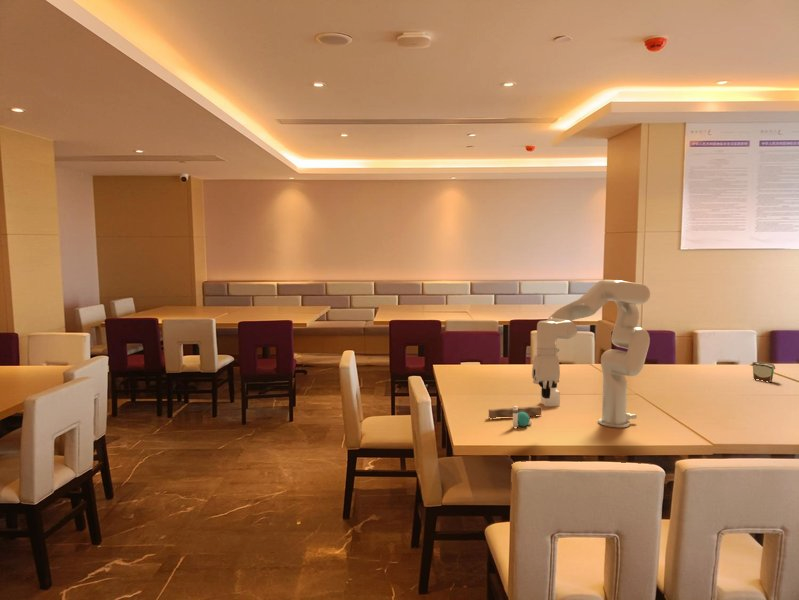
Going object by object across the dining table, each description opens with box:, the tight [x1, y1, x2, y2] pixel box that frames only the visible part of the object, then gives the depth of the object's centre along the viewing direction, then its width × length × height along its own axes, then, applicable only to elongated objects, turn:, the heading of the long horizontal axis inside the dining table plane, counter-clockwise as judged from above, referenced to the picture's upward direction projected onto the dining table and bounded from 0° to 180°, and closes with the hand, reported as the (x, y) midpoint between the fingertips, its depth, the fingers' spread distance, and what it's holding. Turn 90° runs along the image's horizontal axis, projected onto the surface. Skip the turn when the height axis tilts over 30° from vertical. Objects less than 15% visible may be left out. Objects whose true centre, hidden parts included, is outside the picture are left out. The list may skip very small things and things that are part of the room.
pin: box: [512, 405, 519, 428], centre depth 226 cm, size 2×2×9 cm
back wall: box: [488, 405, 542, 418], centre depth 242 cm, size 24×2×4 cm, turn 102°
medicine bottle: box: [540, 383, 561, 407], centre depth 262 cm, size 7×7×12 cm
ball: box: [518, 412, 530, 427], centre depth 229 cm, size 6×6×6 cm
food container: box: [751, 361, 776, 383], centre depth 308 cm, size 12×6×10 cm, turn 22°
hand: (545, 397), depth 216 cm, fingers closed
